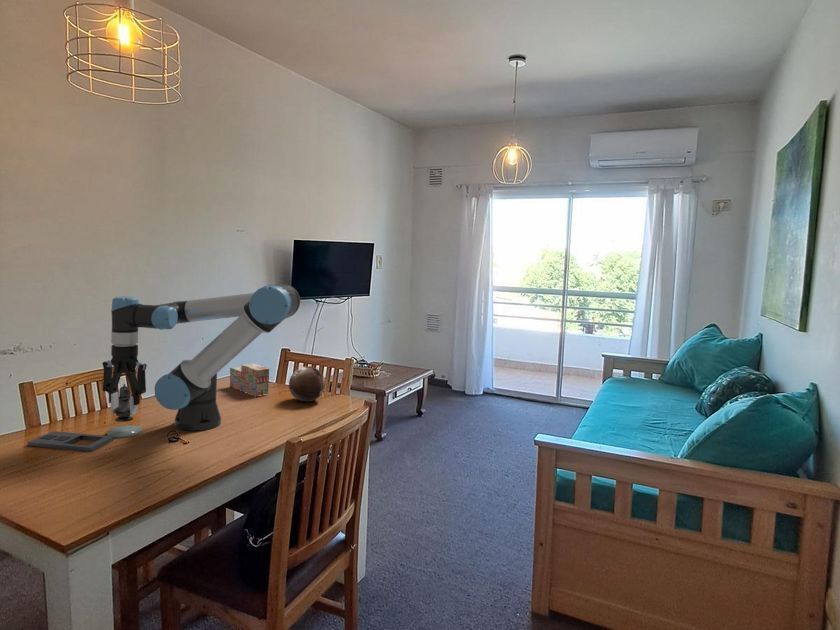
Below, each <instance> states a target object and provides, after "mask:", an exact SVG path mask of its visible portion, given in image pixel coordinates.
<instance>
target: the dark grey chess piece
mask: <svg viewBox="0 0 840 630" xmlns="http://www.w3.org/2000/svg"><path fill="white" fill-rule="evenodd" d="M118 392H119V397H118V399H119V404H118V407H117V408H115V409H114V411H115V413H114V414H115V415H116V416H117V417H116V418H115V419H114V421H115V422H118V423H127V422H131V421H134V417H132V416H131V415H130V396H131V395H130V387H128V386H127V385H126V384H125V383H123V386H121V387H120V388H119V389H118Z"/></svg>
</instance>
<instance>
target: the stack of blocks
mask: <svg viewBox="0 0 840 630" xmlns="http://www.w3.org/2000/svg"><path fill="white" fill-rule="evenodd" d="M229 375H230V376H229V388H231V387H232V388H231V389H234V388H235V389H234V390H236V389H238V390H241V391H244V392H247V393H249V394H252V395H254V396H259V395H263V394H268V395H269V382H270V368H268V367H266V366H263V365H259V364H257V363H253V362H252V363H245V364H241V365H240V366H235V367H232V366H231V367H230V368H229ZM238 390H237V391H238ZM241 391H240V392H241Z"/></svg>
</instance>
